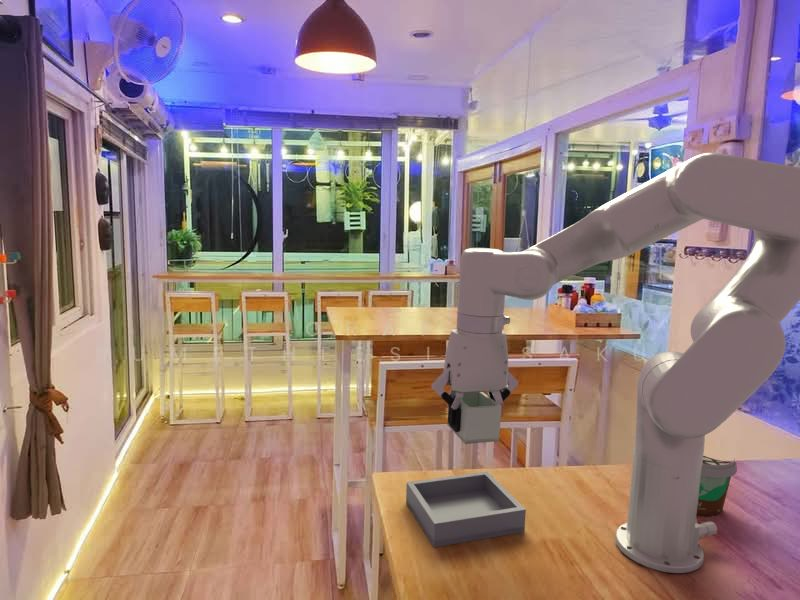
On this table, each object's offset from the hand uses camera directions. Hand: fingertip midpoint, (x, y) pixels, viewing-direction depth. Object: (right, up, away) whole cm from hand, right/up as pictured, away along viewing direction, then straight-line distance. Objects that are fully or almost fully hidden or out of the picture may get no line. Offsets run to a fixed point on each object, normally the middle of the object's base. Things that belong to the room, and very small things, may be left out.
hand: (472, 426), depth 94 cm
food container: (+40, -16, +6) cm, 44 cm away
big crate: (-1, -16, +2) cm, 16 cm away
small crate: (0, -1, 0) cm, 1 cm away
